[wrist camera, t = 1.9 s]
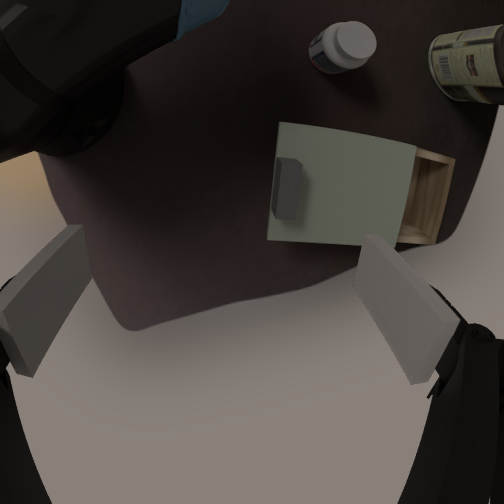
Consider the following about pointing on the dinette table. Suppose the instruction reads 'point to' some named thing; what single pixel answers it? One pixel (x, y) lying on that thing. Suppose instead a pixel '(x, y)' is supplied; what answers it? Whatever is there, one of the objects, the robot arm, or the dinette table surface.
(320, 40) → the pill bottle
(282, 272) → the dinette table surface
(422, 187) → the box
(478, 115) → the dinette table surface
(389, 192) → the lid
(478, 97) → the coffee can
